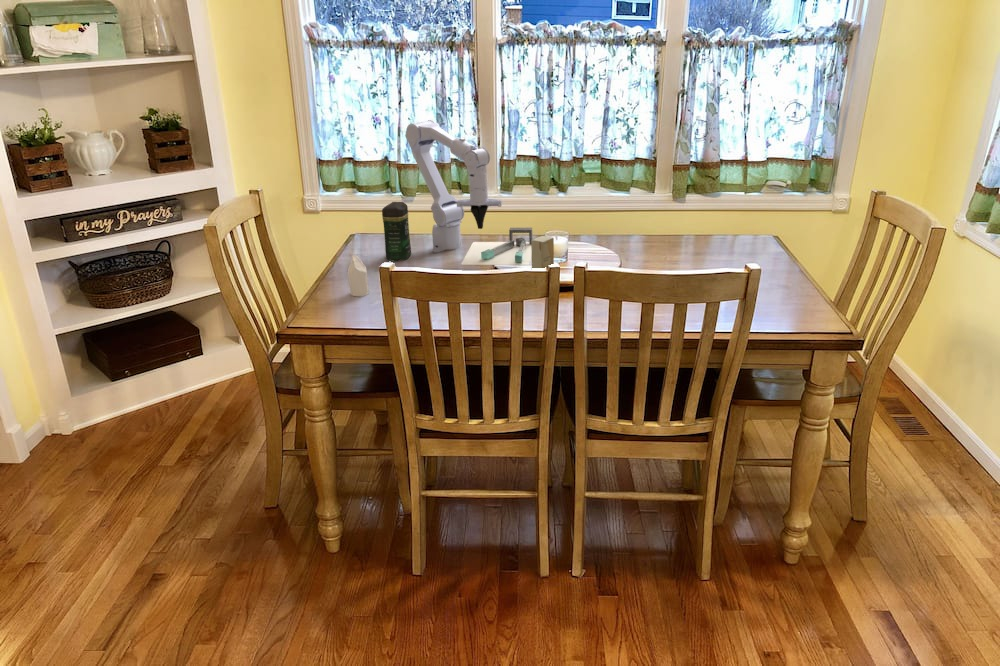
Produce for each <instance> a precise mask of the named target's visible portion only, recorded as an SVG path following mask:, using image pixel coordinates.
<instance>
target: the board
mask: <svg viewBox="0 0 1000 666" xmlns="http://www.w3.org/2000/svg"><path fill="white" fill-rule="evenodd" d="M506 242H507V241H472V243H471V246H470V247H469V249H468V250H467V252H466V254H465V256H464V258H463V260H462V261H461V264H460V266H530V264H531V262H532V249H531V244H529V241H526V247H525V250H524V253H523V261H522V262H515V254H516V252H518V251H519V248H520V247H518V246H516V241H514V247H512V248H510V249H508V250H505V251H503V252H501V253H499V254H497V255H495V256H494V257H492V258H490V259H488V260H485V259H481V252H483V251H485V250H488V249H490V250H491V249H493V248H495V247H497V246H500V245H502V244H504V243H506Z"/></svg>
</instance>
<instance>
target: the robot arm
mask: <svg viewBox="0 0 1000 666" xmlns="http://www.w3.org/2000/svg"><path fill="white" fill-rule="evenodd" d="M404 138H405V139H406V141H407V143H408V145H409V147H410V150H411V153H412V156H413V158H414V161H415V162H416V165H417V167H418V169H419V171H420V173H421V175H422V177H423V178H422V179H424V182H425V185H426V186H427V188H428V190H429V192H430V195H431V197H432V200H433V203H432V204H431V206H430V210H431V213H432V216H433V217H432V218H433V221H434V222H435V224H433V226H432V244H433V245H432V247H433V249H432V252H433V253H440V252H444V251H445V250H456V249H459V248H461V247H462V237H461V236H462V234H461V224H462V220H463V219H464V217H465V209H464V207H470V212H471V213H472V215H473V217H474V219H475V220H474V221H475V223H476V226H477V229H480V230H481V229H483V228H484V222H485V217H486V213H487V211H488V209H489V207H498V208H501V207H502V205H503V203H502V202H503V201H502V199H498V198H497V199H496V198H489V196H488V195H489V194H488V193H489V192H488V173H487V165H488V164H489V163H490V160H491V156H490V153H489V151H488V150H487V149H486V148H485V147H482V146H481V147H477V146H476V145H475V144H472V143H470V142H468V141H467V140H466V138H464V137H457V138H455V137H454V136H452V135H451V134H449V133H448V132H447V131H446V130H444V128H441V127H440V124H439V123H438V122H435V121H434V120H433V119H428V120H425V121H420V122H415V123H410V124H408V125H407V126H406V130H405V135H404ZM435 142H437V143H439V144H441V145H443V146H445V147H447V148H449V150H450V153H451V154H452V155H454V156H455V157H457V158H458V159H460V160H461V161H463V162H464V165H465V167H466V168H467V174H468V182H469V185H468V186H469V198H468V199H467V198H466V199H457V197H455V196H454V195H451V194H450V193H449V192H448V189H447V187H446V185H445V183H444V180H443V178H442V176H441V174H440V172H439V170H438V167H437V166H436V163H435V161H434V159H433V157H432V154H431V153H430V151H431V148H432V147H433V146H434V144H435Z"/></svg>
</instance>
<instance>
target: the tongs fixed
mask: <svg viewBox="0 0 1000 666" xmlns="http://www.w3.org/2000/svg"><path fill="white" fill-rule="evenodd" d="M515 242H516V246H518V247H520V248H519V251H518V252H516V254H515V262H522V261H523V253H524V250H525V247H526V242H527V240H525V238H524V237H518V238H515Z"/></svg>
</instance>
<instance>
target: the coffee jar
mask: <svg viewBox="0 0 1000 666" xmlns="http://www.w3.org/2000/svg"><path fill="white" fill-rule="evenodd" d="M408 209H409V207H408V205H407V204H406V203H405V202H403V201H392V202H391V203H389V204H387V205H386V206H384V207H383V208H382V210H381V216H382V222H383V233H384V234H383V235H384V245H385V246H384V247H385V248H384V249H385V250H384V251H385V258H386V260H389V259H391V260H389V261H392V260H394V261H393V262H399V261H405V260H408V259H409V257H410V256H411V255H412V246H411V245H412V244H411V238H410V237H411V235H410V226H409V225H410V224H409V210H408Z"/></svg>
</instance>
